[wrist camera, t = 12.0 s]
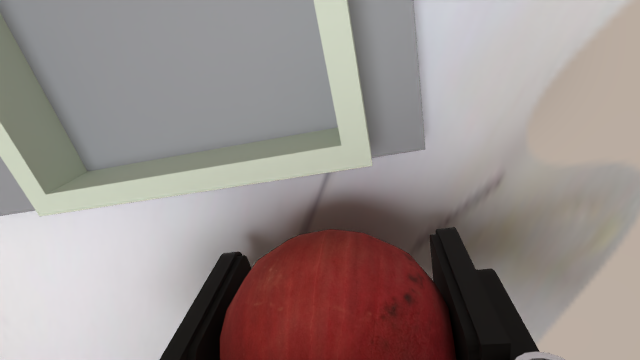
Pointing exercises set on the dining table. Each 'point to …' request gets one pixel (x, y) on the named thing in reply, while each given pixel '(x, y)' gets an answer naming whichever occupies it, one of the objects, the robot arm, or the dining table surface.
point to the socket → (184, 170)
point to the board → (207, 75)
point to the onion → (337, 304)
